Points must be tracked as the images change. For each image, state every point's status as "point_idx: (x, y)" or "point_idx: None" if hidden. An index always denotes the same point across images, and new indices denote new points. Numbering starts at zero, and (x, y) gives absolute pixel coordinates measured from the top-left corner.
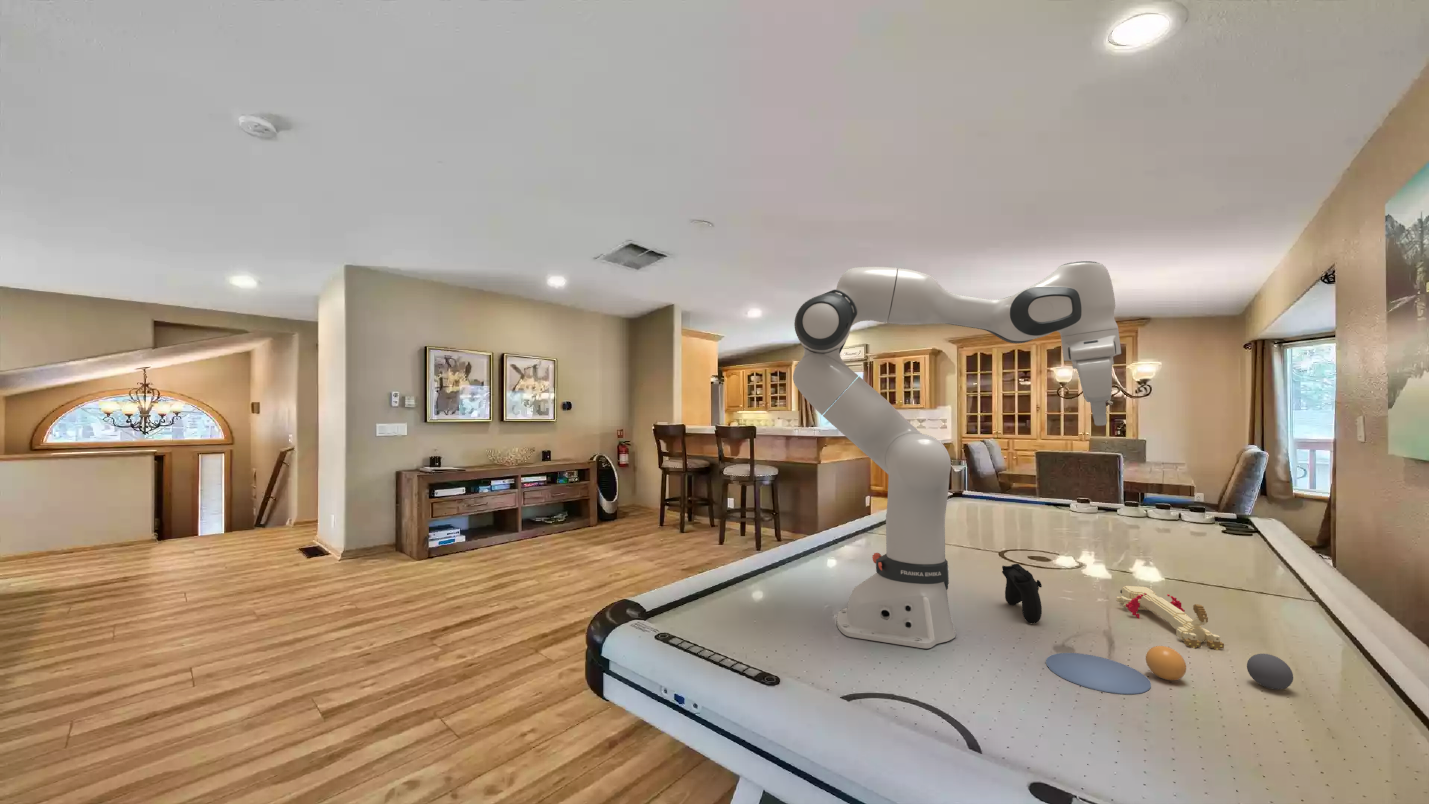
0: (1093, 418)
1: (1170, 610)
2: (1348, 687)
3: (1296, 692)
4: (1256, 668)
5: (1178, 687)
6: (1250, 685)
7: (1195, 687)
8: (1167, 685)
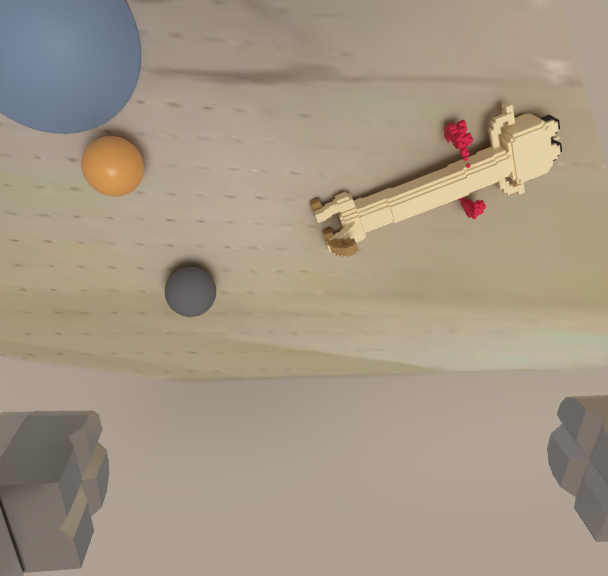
0: (572, 399)
1: (405, 198)
2: (260, 349)
3: None
4: (171, 280)
5: None
6: (182, 259)
7: None
8: None
